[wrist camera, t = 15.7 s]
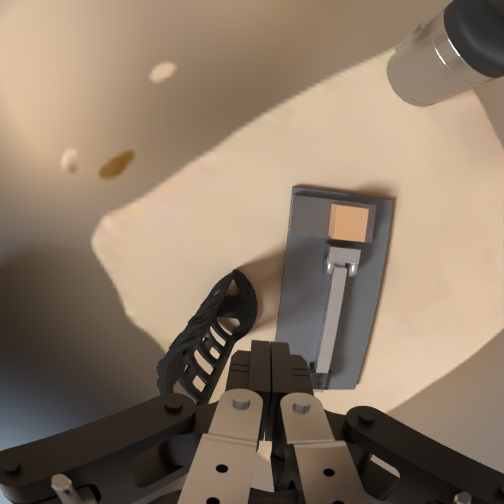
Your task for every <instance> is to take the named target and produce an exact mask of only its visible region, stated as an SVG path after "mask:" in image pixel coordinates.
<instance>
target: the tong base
mask: <svg viewBox="0 0 504 504" xmlns="http://www.w3.org/2000/svg"><path fill="white" fill-rule="evenodd" d="M332 204H340V205H348V206H356V207H362V208H366V209H369V211H368V220H367V227H366V235H365V243H372V236H373V229H374V221H375V213H376V205H372V204H365V203H357V202H350V201H342V200H334V199H326V198H317V197H308V196H299V195H292V203H291V213H290V223H289V235H296V236H306V237H316V238H326V239H333V238H331V237H330V236H329V235H328V231H329V223H330V214H331V205H332ZM336 240H339V239H336ZM346 241H349V240H346ZM355 242H359V241H355ZM360 252H361V250H360V249H359V248H357V247H356V246H355V245H350V244H340V243H330V242H325V248H324V258H323V274H324V275H329V276H328V283H327V289H326V296H325V302H324V308H323V314H322V319H321V325H320V331H319V336H318V341H317V347H316V352H315V357H314V362H313V363H309V367H308V371H309V374H310V371H311V369H315V366H316V361H317V356H318V351H319V346H320V340H321V335H322V329H323V323H324V317H325V311H326V305H327V299H328V292H329V286H330V279H331V274H332V272H333V269H334V266H341V267H345V263H346V268H347V274H346V275H347V276H348V277H355V276H356V274H357V271H358V264H359V259H360ZM329 368H330V366H329Z"/></svg>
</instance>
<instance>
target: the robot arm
mask: <svg viewBox="0 0 504 504" xmlns="http://www.w3.org/2000/svg"><path fill="white" fill-rule="evenodd" d="M387 74H388V78H389V81H390V84H391V86H392V87H393V89H394V91H395V92H396V93H397V94H398V95H399V96H400V97H401V98H402V99H403V100H404V101H406V102H408V103H409V104H412V105H414V106H419V107H426V106H429V105H432V104H434V103H436V102H439V101H441V100H444V99H446V98H449V97H451V96H453V95H456V94H458V93H461V92H463V91H466V90H468V89H471V88H473V87H476V86H478V85H481V84H483V83H486V82H488V81H491V80H493V79H496V78H499V77H502V76H504V0H454V1H452V2H451V3H450V4H449V5H448V6H447V7H446V8H445V9H443V10H442V12H440V13H439V14H438V15H437V16H436V17H435V18H434V19H433V20H431V21H430V22H429V23H428V24H426V23H421V24H420V25H419V26H418V27H417V28H416V29H415V30H414V31H413V32H412V33H411V34H410V35H409V36H408V37H406V39H404V40H403V41H402V42H401V43H400V44H399V45H398V46H397V47H396V53H395V54H394V55H393V56H392V57H391V59H390V60H389V63H388V67H387ZM264 432H265V441H272V450H271V455H270V461H271V468H272V477H273V486H274V492H267V491H263V490H259V489H255V488H251V487H250V486H251V479H252V473H253V467H254V461H255V454H256V452H257V451H258V447H259V440H260V441H263V438H264ZM372 455H375V456H376V457H378V458H379V459H381V460H383V461H384V462H386V463H388V464H389V465H391V466H392V467H394V468H396V469H397V470H398V472H399V474H400V478H399V477H397V476H395V475H393V474H392V473H390V472H389V471H387V470H385V469H383V468H382V467H381V466H379V465H377V464H376V463H374V462H373V461H371V460H370V459H371V457H372ZM187 473H188V476H187V479H186V481H185V484H184V487H183V489H182V490H177V491H173V492H170V493H167V494H165V495H163V496H160V497H158V498H157V499H155V500H153V501H151V502H150V503H148V504H504V474H503V473H501V472H499V471H497V470H494V469H492V468H490V467H487V466H486V465H483V464H481V463H479V462H477V461H475V460H473V459H471V458H469V457H467V456H464V455H462V454H460V453H458V452H456V451H454V450H452V449H450V448H448V447H446V446H444V445H442V444H440V443H438V442H437V441H435V440H433V439H431V438H429V437H427V436H425V435H423V434H421V433H419V432H417V431H416V430H414V429H412V428H410V427H408V426H406V425H405V424H403V423H401V422H399V421H397V420H395V419H394V418H392V417H390V416H388V415H387V414H385V413H383V412H381V411H379V410H378V409H376V408H373V407H369V406H357V407H354V408H352V409H350V410H349V411H348V412H347V414H346V415H342V414H337V413H332V412H329V411H327V410H325V409H323V406H322V403H321V402H320V400H319V399H317V398H316V397H314V393H313V388H312V384H311V379H310V374H309V371H308V365H307V362H306V361H305V359H304V358H303V357H302V356H301V355H292V354H290V350H289V343H286V342H272V341H271V342H269V341H260V340H252V344H251V351H241V350H238V351H237V352H235V353H234V354H233V355H232V357H231V362H230V367H229V373H228V378H227V383H226V389H225V392H224V393H223V394H222V395H221V397H220V399H219V401H217V402H215V403H212V404H207V405H195V403H194V401H193V400H192V399H191V398H189V397H188V396H185V395H183V394H179V393H166V394H162V395H160V396H157V397H155V398H153V399H150V400H148V401H146V402H143V403H141V404H138V405H136V406H133V407H131V408H128V409H125V410H123V411H120V412H118V413H115V414H113V415H110V416H108V417H105V418H102V419H99V420H97V421H94V422H91V423H88V424H85V425H83V426H80V427H77V428H74V429H71V430H68V431H65V432H62V433H59V434H56V435H53V436H50V437H47V438H43V439H40V440H37V441H34V442H30V443H27V444H23V445H20V446H16V447H12V448H9V449H6V450H2V451H0V488H1V489H2V491H3V494H4V495H5V497H6V498H7V499H8V501H9V502H10V503H11V504H131V503H133V502H136V501H137V500H140V499H141V498H143V497H145V496H147V495H149V494H151V493H153V492H155V491H157V490H159V489H161V488H162V487H164V486H166V485H168V484H170V483H171V482H173V481H175V480H177V479H178V478H180V477H182V476H184V475H185V474H187Z"/></svg>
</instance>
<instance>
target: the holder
mask: <svg viewBox="0 0 504 504" xmlns="http://www.w3.org/2000/svg"><path fill="white" fill-rule="evenodd" d="M232 279H233V280H234V281H235V283H236V284H237V286H238V287H239V289H240V294H239V295H238V296H225V294H226V292H227V290H228V288H229V286H230V283H231V281H232ZM217 293H218V294H217ZM200 306H201V307H200V308H199V309H198V311H197V312H196V314H195V315H194V316H193V317H192V318H191V319H190V320H189V322H188V325H187V326H186V328H185V330H184V331H183V332H181V333H180V334H179V335H178V336H177V338H176V339H175V340H174V342H173V343H172V344H171V346H170V347H169V351H168V352H167V353H166V355H165V357H164V358H163V359H161V360H160V361H159V362H158V364H159V366H157V372H158V376H159V379H158V380H157V387H158V389H159V391H160V394H161V395H162V394H166V393H174V392H173V386H174V384H175V383H176V381H177V380H178V381H179V383H180V384H181V386H182V387H183V388H184V389H185V390H186V391H187V393H188V394H189V395H190V396H192V397H193V398H194V399H195V401H196V402H197V403H196V405H207V404H208V402H209V400H210V398H211V396H212V394H213V391H214V389H215V387H216V385H217V383H218V380H219V378H220V376H221V374H222V371H223V369H224V367H225V365H226V362H227V360H228V358H229V356H230V353H231V351H232V349H233V346H234V344H235V343H236V342H237V341H238V340H239V339H241V338H242V337H244V336H245V335H246V334H247V333H248V332H249V331H250V329H251V328H252V326H253V324H254V322H255V319H256V315H257V299H256V295H255V291H254V289H253V287H252V286H251V284H250V282H249V281H248V279H247V278H246V277H245V276H244V275H243V274H242V273H241V272H239V271H238V270H236V269H235V270H233V271H232V273H230V274H229V275H227V276H225V277H224V278H222V279H221V280H220V281H219V282H218V283H217V284H216V285H215V286H214V287H213V289H212V290H211V292H210V293H209V295H208V297H207V298H206V299H205V300H204V302H203V303H202V304H201V305H200ZM218 316H220V317H228V318H236V319H238V320H239V322H240V325H239V326H238V328H237V329H236V330H235V331H234V333H233V334H232V335H229V334H228V333H226V332H225V331H224V330H223V329H222V328H221V326H220V325H219V323H218V321H217V318H216V317H218ZM210 327H212V328H213V329H214V330H215V332H216V333H217V334H218V335H219V336H220V337H221V338H222V339H224V340H225V342H226V343H225V346H222V345H221V344H220V343H218V342H217V341H216V339H215V338H214V337H213V335H212V333H211V331H210ZM203 338H205V339H204V341H202V339H203ZM212 347H213V348H214V349H216V350H217V351H218V353H219V354H220V356H219V358H218V360H217V359H216V358H214V357H213V356H212V355H211V354H210V352H209V351H210V349H211V348H212ZM196 349H197V351H198V352H199V353H200V354H201V356H202V357H203V358H204V359H205V360H206V361H207V362H208V363H209V364H210V365H211V366H212V367H213V368H214V369H213V371H212V373H211V375H209V374H208V373H207V372H205V371H204V370H203V369H202V367H201V366H200V365H199V364H198V363H197V361H196V359H195V357H194V352H195V351H196ZM186 365H188V367H187V368H186V370H185V367H186ZM184 370H185V372H184ZM196 375H197V376H198V377H199V378H200V379H201V380H202V381H203V382H204V383H205V384H206V385H205V387H204V389H203V391H202V392H200V391H199V390H198V389H197V388H195V386H194V385H193V383H192V382H193V380H194V379H195V377H196Z"/></svg>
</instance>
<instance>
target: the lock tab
mask: <svg viewBox="0 0 504 504" xmlns="http://www.w3.org/2000/svg"><path fill="white" fill-rule="evenodd" d="M368 211H369V209H366V208H362V207H356V206H348V205H340V204H332V205H331V214H330V223H329V231H328V235H329V236H330V237H331V238H333V239H339V240H349V241H359V242H365V235H366V227H367V220H368Z"/></svg>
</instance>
